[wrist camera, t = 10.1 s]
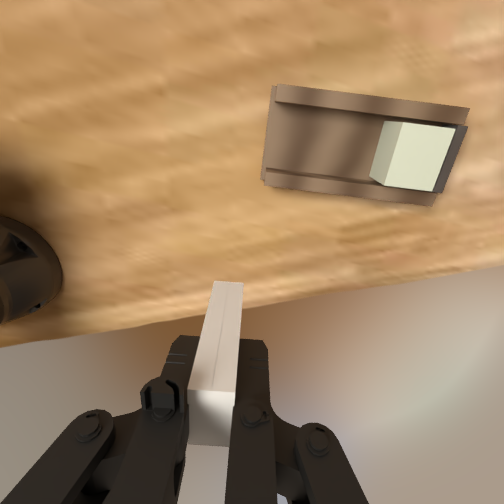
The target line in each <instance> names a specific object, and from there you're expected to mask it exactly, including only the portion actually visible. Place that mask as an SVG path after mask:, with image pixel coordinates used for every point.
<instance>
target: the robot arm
mask: <svg viewBox="0 0 504 504" xmlns="http://www.w3.org/2000/svg"><path fill="white" fill-rule="evenodd" d="M61 282H62V272H61V267H60V264H59V261H58V259H57V257H56V255H55V253H54V252H53V250H52V249H51V247H50V246H49V245H48V244H47V242H46V241H45V240H44V239H43V238H42V237H41V236H39V235H38V234H37V233H36V232H35V231H33V230H32V229H30V228H29V227H27V226H26V225H24V224H22V223H20V222H18V221H15V220H13V219H10V218H7V217H2V216H0V325H2V324H5V323H7V322H10V321H12V320H15V319H17V318H20V317H22V316H25V315H28V314H30V313H33V312H35V311H37V310H39V309H41V308H42V307H44V306H45V305H46V304H47V303H48V302H49V301H51V300H52V299H53V298H54V297H55V296H56V295H57V293H58V291H59V289H60V287H61ZM243 286H244V283H237V282H224V281H214V285H213V289H212V293H211V297H210V301H209V305H208V309H207V313H206V317H205V321H204V325H203V329H202V332H201V336H200V337H199V336H185V335H180V336H179V337H178V338H177V339H176V340H175V341H174V342H173V343H172V346H171V348H170V351H169V355H168V357H167V359H166V363H165V365H164V367H163V371H162V373H161V376H160V377H157V378H155V379H152V380H151V381H149V382H148V383H147V384H145V385H144V387H143V388H142V390H141V392H140V395H141V404H142V408H141V409H139V410H137V411H135V412H132V413H129V414H125V415H120V416H116V417H112V416H111V414H110V413H109V412H107V411H105V410H98V409H96V410H91V411H87V412H85V413H83V414H81V415H79V416H78V417H77V418H76V419H75V420H73V421H72V422H71V423H70V424H69V425H68V426H67V428H66V429H65V430H64V431H63V432H62V434H60V436H59V437H58V438H57V439H56V440H55V441H54V443H53V444H52V445H51V446H50V447H49V448H48V450H47V451H46V452H45V453H44V454H43V455H42V456H41V457H40V459H39V460H38V461H37V462H36V463H35V464H34V465H33V467H32V468H31V469H30V470H29V471H28V472H27V473H26V475H25V476H24V477H23V478H22V479H21V481H19V483H18V484H17V485H16V486H15V487H14V488H13V490H12V491H11V492H10V493H9V494H8V495H7V497H6V498H5V499H4V500H3V501H2V502H1V503H0V504H177V501H178V496H179V491H180V486H181V482H182V477H183V472H184V467H185V451H186V446H187V442H188V444H193V445H209V446H225V447H229V458H228V469H227V481H226V493H225V504H277V493H278V494H280V495H282V496H285V497H286V499H287V502H288V504H369V503H368V501H367V499H366V497H365V495H364V493H363V491H362V489H361V486H360V484H359V482H358V480H357V478H356V476H355V474H354V472H353V470H352V468H351V466H350V464H349V461H348V459H347V458H346V455H345V453H344V451H343V449H342V447H341V445H340V443H339V441H338V439H337V438H336V436H335V435H334V433H333V432H332V431H331V430H330V429H328V428H327V427H326V426H324V425H321V424H319V423H307V424H305V425H303V426H302V427H301V428H299V427H297V426H294V425H291V424H289V423H287V422H285V421H283V420H282V419H280V418H279V417H278V416H277V415H276V414H275V412H274V411H273V409H272V407H271V403H270V390H269V389H270V388H269V370H268V349H267V347H266V345H265V344H264V342H263V341H262V340H252V339H239V338H240V324H241V312H242V299H243Z"/></svg>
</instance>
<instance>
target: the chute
mask: <svg viewBox="0 0 504 504" xmlns="http://www.w3.org/2000/svg"><path fill="white" fill-rule="evenodd" d="M469 110H470V108H465V107H457V106H449V105H441V104H433V103H425V102H417V101H410V100H402V99H394V98H386V97H378V96H370V95H362V94H355V93H347V92H339V91H331V90H323V89H315V88H307V87H299V86H292V85H284V84H277V86H272V90H271V98H270V106H269V114H268V122H267V130H266V138H265V146H264V154H263V162H262V170H261V178H260V180H264V186H272V187H280V188H288V189H296V190H304V191H312V192H320V193H328V194H336V195H344V196H352V197H360V198H368V199H376V200H384V201H392V202H400V203H408V204H415V205H423V206H431V207H432V206H433V203H434V200H435V198H436V195H437V193H442V192H443V189H444V187H445V184H446V182H447V179H448V177H449V174H450V172H451V169H452V167H453V164H454V161H455V159H456V156H457V154H458V151H459V149H460V146H461V144H462V141H463V139H464V136H465V133H466V131H467V128H468V126H461V125H464V123H465V120H466V118H467V115H468V112H469ZM384 121H393V122H406V123H413V124H421V125H429V126H437V127H445V128H453V129H456V130H455V132H454V135H453V137H452V140H451V143H450V145H449V148H448V151H447V153H446V156H445V159H444V161H443V164H442V167H441V169H440V172H439V175H438V177H437V180H436V182H435V185H434V188H433V190H432V191H424V190H416V189H408V188H400V187H392V186H384V185H382V184H381V183H379V182H378V181H376V180H374V179H373V178H371V177H370V176H369V174H370V171H371V167H372V164H373V160H374V156H375V153H376V149H377V146H378V142H379V139H380V135H381V131H382V128H383V124H384ZM452 124H460V125H452ZM435 192H437V193H435Z"/></svg>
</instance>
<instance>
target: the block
mask: <svg viewBox="0 0 504 504" xmlns="http://www.w3.org/2000/svg"><path fill="white" fill-rule="evenodd" d="M455 130H456V129H453V128H445V127H437V126H429V125H421V124H413V123H406V122H393V121H384V124H383V128H382V131H381V135H380V139H379V142H378V146H377V149H376V153H375V156H374V160H373V164H372V167H371V171H370V174H369V176H370V177H371V178H373V179H374V180H376V181H378V182H379V183H381V184H382V185H384V186H392V187H400V188H408V189H416V190H424V191H432V190H433V188H434V185H435V182H436V180H437V177H438V175H439V172H440V169H441V167H442V164H443V161H444V159H445V156H446V153H447V151H448V148H449V145H450V143H451V140H452V137H453V135H454V132H455Z"/></svg>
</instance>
